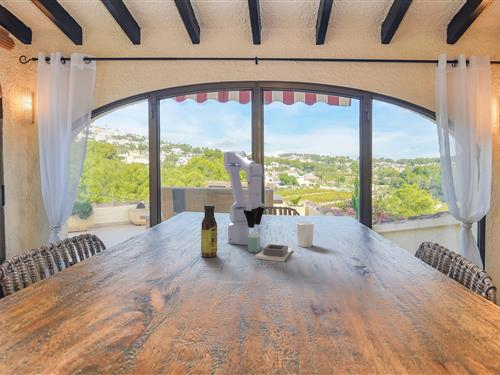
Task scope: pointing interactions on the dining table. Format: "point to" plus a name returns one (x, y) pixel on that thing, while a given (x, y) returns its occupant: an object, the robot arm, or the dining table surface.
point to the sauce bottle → (209, 233)
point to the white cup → (304, 233)
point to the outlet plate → (274, 252)
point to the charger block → (253, 242)
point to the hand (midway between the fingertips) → (254, 226)
